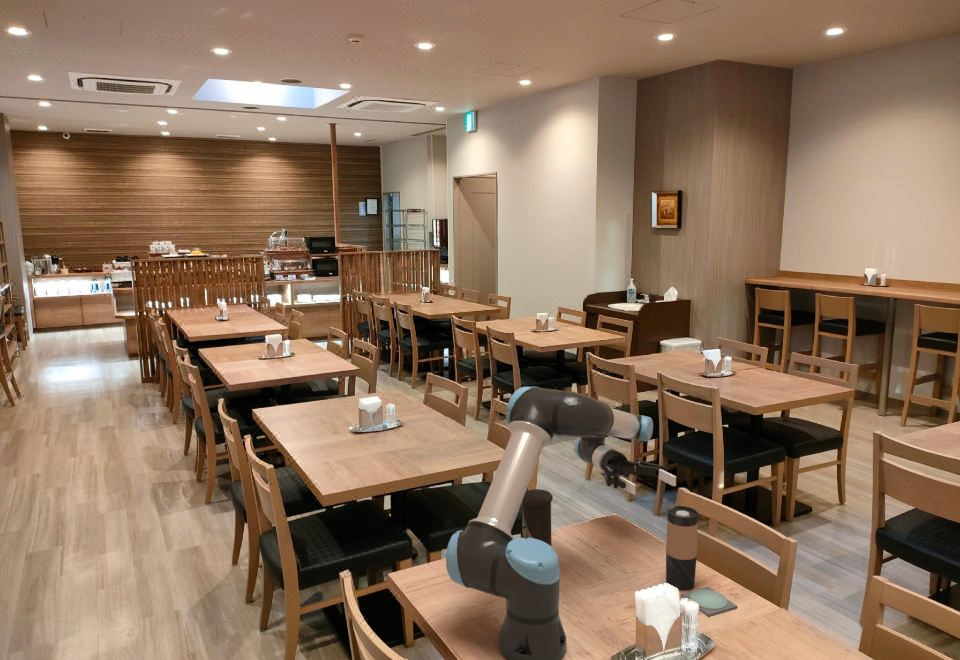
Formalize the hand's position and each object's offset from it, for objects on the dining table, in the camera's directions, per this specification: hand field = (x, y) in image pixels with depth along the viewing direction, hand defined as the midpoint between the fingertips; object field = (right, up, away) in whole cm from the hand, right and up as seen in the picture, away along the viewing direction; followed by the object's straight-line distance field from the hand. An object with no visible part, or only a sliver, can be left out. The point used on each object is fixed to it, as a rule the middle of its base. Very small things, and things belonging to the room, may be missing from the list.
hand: (655, 485), depth 185 cm
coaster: (+9, -25, -16) cm, 31 cm away
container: (-32, -23, +6) cm, 40 cm away
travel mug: (+5, -24, -7) cm, 26 cm away
